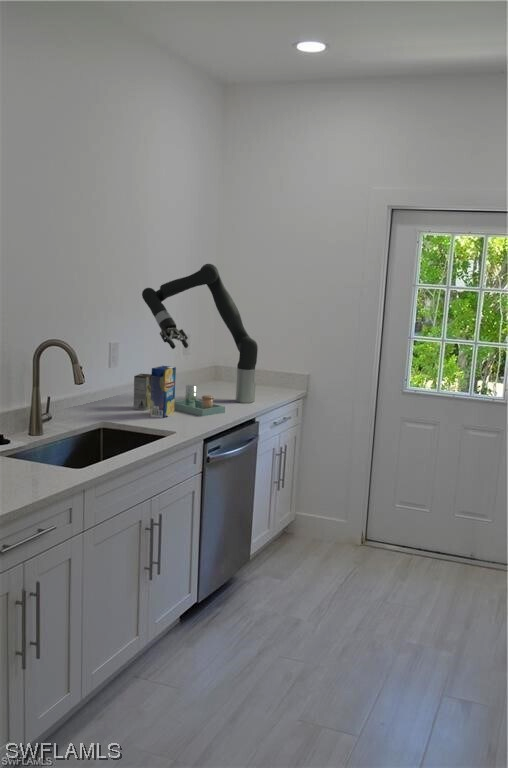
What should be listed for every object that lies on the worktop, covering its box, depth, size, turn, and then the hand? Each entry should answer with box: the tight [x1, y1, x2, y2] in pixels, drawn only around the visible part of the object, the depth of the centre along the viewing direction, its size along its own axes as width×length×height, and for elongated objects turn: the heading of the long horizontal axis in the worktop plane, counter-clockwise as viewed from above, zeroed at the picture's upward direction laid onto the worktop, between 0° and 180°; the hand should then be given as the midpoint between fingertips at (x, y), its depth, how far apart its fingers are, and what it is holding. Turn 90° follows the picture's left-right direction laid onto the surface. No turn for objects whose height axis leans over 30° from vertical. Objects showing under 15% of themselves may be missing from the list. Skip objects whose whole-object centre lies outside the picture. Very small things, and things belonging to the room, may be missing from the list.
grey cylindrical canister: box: [184, 384, 198, 408], centre depth 356 cm, size 5×5×11 cm
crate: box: [174, 399, 226, 417], centre depth 353 cm, size 15×22×4 cm
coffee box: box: [132, 373, 152, 411], centre depth 354 cm, size 9×6×16 cm
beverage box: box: [149, 365, 177, 419], centre depth 341 cm, size 7×11×22 cm, turn 161°
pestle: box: [201, 394, 214, 409], centre depth 349 cm, size 5×5×8 cm
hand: (180, 347), depth 364 cm, fingers open, 8 cm apart
